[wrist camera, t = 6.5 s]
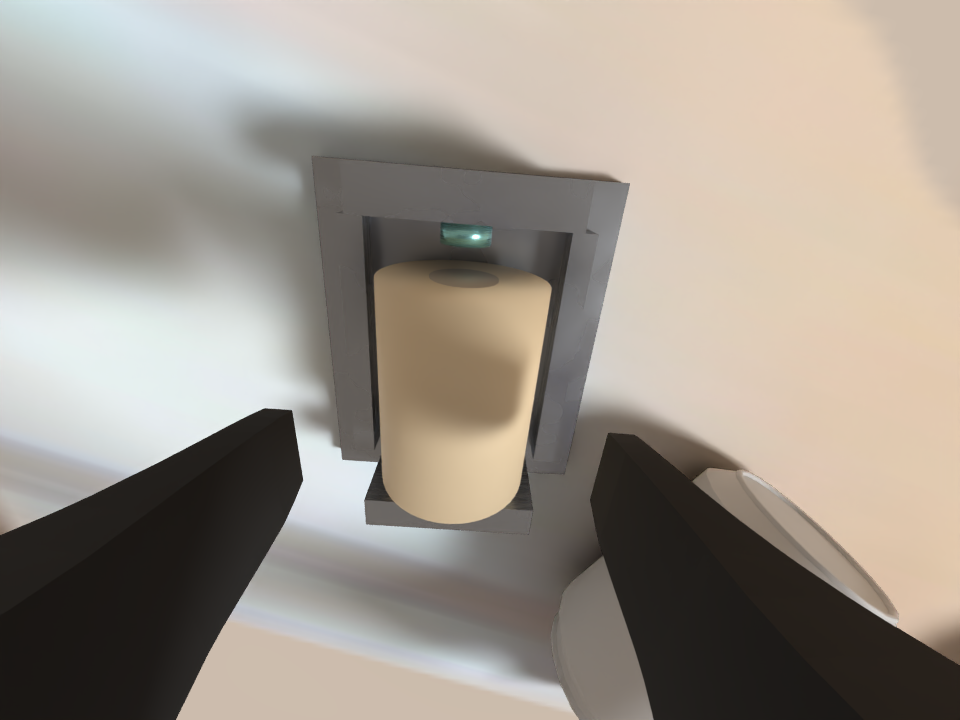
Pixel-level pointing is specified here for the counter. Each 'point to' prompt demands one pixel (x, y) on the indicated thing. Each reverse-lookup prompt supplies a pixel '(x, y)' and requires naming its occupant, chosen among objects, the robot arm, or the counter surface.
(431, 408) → the roll
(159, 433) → the counter surface
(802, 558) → the can
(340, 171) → the holder
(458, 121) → the counter surface
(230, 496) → the robot arm
